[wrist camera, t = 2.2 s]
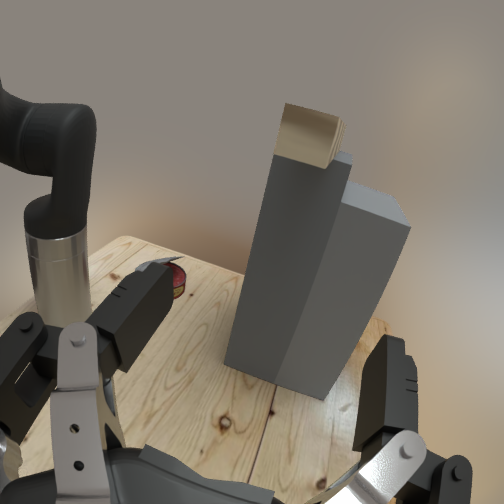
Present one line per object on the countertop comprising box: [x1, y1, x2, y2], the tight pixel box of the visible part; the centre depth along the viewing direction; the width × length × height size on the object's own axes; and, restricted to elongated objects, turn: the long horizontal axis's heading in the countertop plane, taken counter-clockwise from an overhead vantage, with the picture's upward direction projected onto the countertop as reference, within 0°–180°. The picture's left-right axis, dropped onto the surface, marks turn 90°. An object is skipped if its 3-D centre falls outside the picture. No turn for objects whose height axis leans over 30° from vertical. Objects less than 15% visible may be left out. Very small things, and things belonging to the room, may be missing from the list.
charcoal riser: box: [224, 151, 411, 400], centre depth 43 cm, size 16×16×32 cm
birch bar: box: [274, 103, 346, 169], centre depth 32 cm, size 24×4×4 cm, turn 161°
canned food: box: [135, 256, 186, 299], centre depth 57 cm, size 11×10×10 cm
